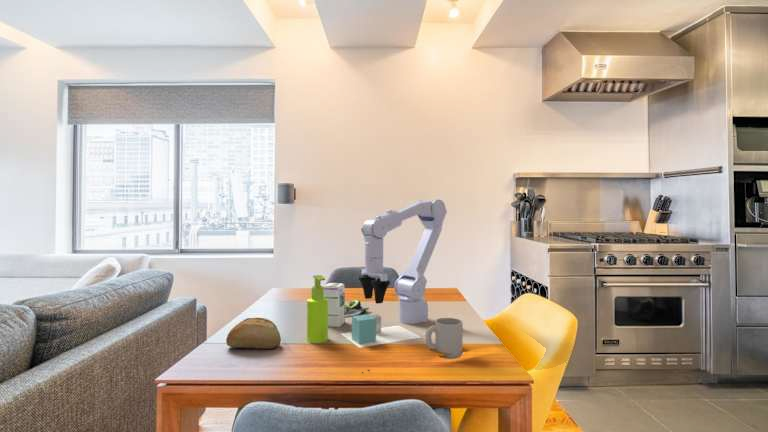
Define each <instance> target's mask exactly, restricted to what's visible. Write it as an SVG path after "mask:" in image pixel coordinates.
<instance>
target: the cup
mask: <svg viewBox="0 0 768 432" xmlns="http://www.w3.org/2000/svg"><path fill="white" fill-rule="evenodd" d="M463 323H464V322H463V320H461V319H458V318H452V317H440V318H437V319H436V320H435V324H433V325H430V326H428V328H427V330H426V331H425V336H424V338H425V344H426V347H428V349H429V350H431V351H432V350H434V351H437V352H440V353H443V355H438V357H439V358H442V359H448V360H450V359H451V360H453V359H459V358H461V357H462V355H463V336H464V335H463V329H464V328H463ZM433 332H435V333H434V335H435V338H434V339H435V340H434V342H435V343H433V341H432V336H433V335H432V334H433Z"/></svg>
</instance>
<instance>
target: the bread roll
mask: <svg viewBox="0 0 768 432" xmlns="http://www.w3.org/2000/svg"><path fill="white" fill-rule="evenodd" d="M281 338H282V337H281V333H280V331H279V329H278V326H277V325H276V324H275V323H274V322H273V321H272V320H270V319H268V318H265V317H247V318H245V319H243V320H242V321H240V322H239V323H236V324H235V326H233V327H232V329H230V330H229V332H228V334H227V336H226V345H227V346H228V347H230V348H239V349H240V348H241V349H242V348H244V349H245V348H247V349H249V348H250V349H265V350H266V349H268V350H269V349H270V350H271V349H275V348H277V347H278V346H279V345H281V341H282V340H281Z"/></svg>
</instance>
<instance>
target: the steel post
mask: <svg viewBox="0 0 768 432" xmlns="http://www.w3.org/2000/svg"><path fill="white" fill-rule="evenodd" d="M369 315H370V316H372V317H374V318H376V334H377V333H381V328H382V316H381V315H379V314H373V315H372V314H369Z"/></svg>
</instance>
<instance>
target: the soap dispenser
mask: <svg viewBox="0 0 768 432" xmlns="http://www.w3.org/2000/svg"><path fill="white" fill-rule="evenodd" d="M312 278H313V279H314V285H313V286H311V297H310V298H307V300H306V341H307V343H310V344H322V343H325V342H327V341H328V339H329V333H328V332H329V330H328V329H329V326H328V299H327V298H323V286H322V284H321V281H326V278H325V277H324V276H323V275H321V274H319V275H318V274H317V275H312Z"/></svg>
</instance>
